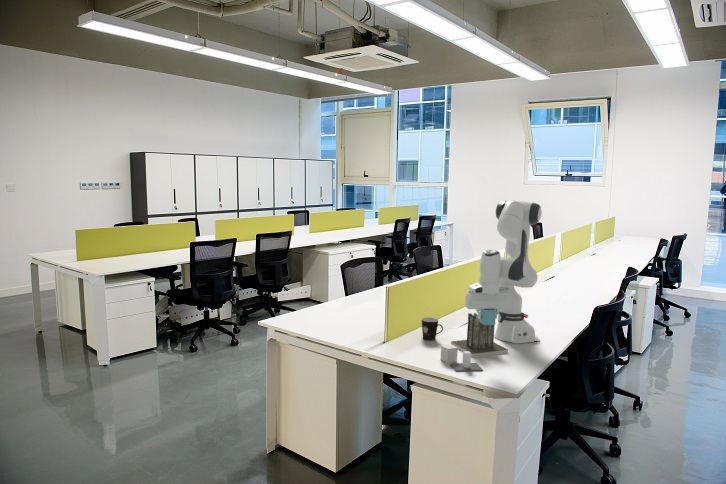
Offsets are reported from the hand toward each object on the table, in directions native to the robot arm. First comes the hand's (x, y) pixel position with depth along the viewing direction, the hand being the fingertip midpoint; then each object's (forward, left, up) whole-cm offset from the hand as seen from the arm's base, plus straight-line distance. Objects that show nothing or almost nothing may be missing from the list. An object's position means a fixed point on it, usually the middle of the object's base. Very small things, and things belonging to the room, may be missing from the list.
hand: (487, 318), depth 217 cm
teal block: (0, 0, -2) cm, 2 cm away
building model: (-5, -19, -21) cm, 29 cm away
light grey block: (+15, -5, -21) cm, 26 cm away
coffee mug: (+15, -35, -21) cm, 44 cm away
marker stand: (+10, +4, -21) cm, 23 cm away
